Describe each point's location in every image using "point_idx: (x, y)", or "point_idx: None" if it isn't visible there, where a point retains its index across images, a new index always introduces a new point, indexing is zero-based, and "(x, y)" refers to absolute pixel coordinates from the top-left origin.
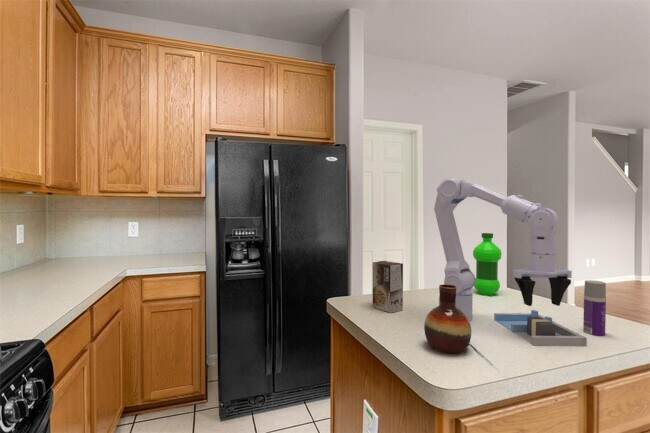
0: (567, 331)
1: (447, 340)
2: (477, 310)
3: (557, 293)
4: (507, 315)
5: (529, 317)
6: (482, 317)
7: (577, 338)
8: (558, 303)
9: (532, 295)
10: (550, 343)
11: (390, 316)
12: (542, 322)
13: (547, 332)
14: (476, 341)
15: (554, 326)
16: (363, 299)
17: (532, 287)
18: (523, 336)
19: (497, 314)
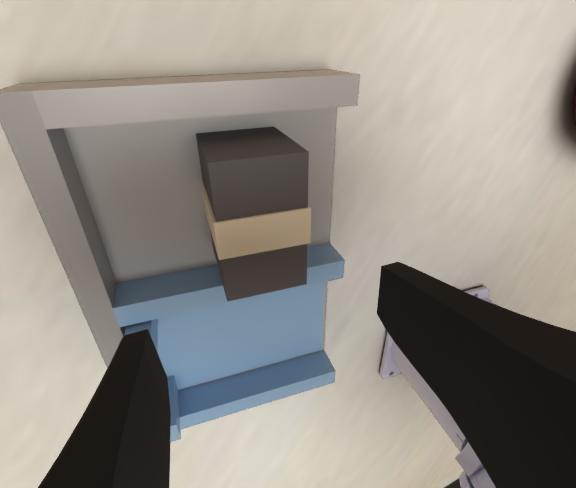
0: (82, 224)
1: None
2: (306, 444)
3: (138, 455)
4: (287, 381)
5: (298, 279)
6: (327, 390)
7: (69, 89)
8: (138, 343)
9: (456, 311)
10: (254, 75)
11: (572, 315)
12: (276, 196)
13: (252, 142)
14: (492, 148)
15: (213, 159)
16: None
17: (571, 363)
18: (316, 194)
19: (330, 372)
